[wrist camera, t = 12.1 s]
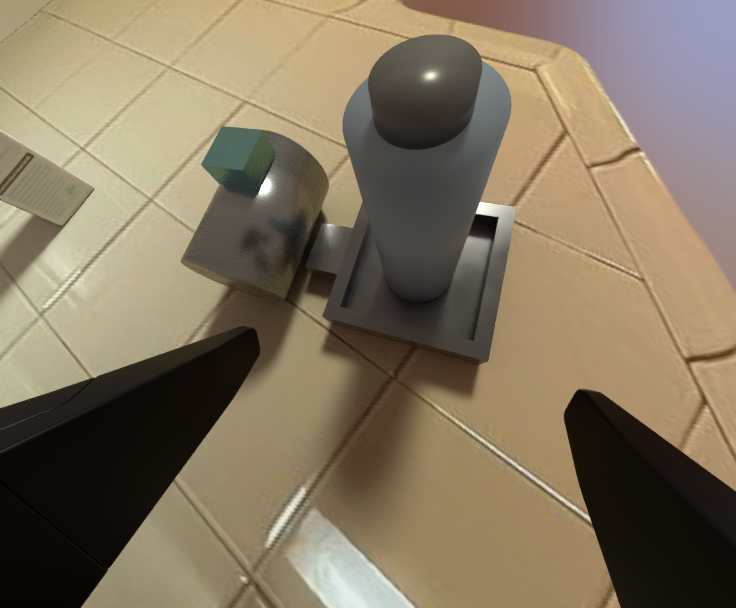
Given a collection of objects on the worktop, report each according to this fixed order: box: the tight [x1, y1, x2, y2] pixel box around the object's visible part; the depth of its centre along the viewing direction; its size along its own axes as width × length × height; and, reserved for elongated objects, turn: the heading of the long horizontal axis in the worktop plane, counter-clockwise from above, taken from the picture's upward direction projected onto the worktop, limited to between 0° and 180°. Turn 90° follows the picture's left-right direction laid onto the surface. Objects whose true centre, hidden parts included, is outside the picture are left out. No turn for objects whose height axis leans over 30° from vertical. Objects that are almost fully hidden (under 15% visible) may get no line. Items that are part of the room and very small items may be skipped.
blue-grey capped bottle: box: [343, 35, 511, 302], centre depth 13 cm, size 5×5×13 cm
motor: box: [181, 126, 516, 364], centre depth 17 cm, size 11×21×8 cm, turn 73°
